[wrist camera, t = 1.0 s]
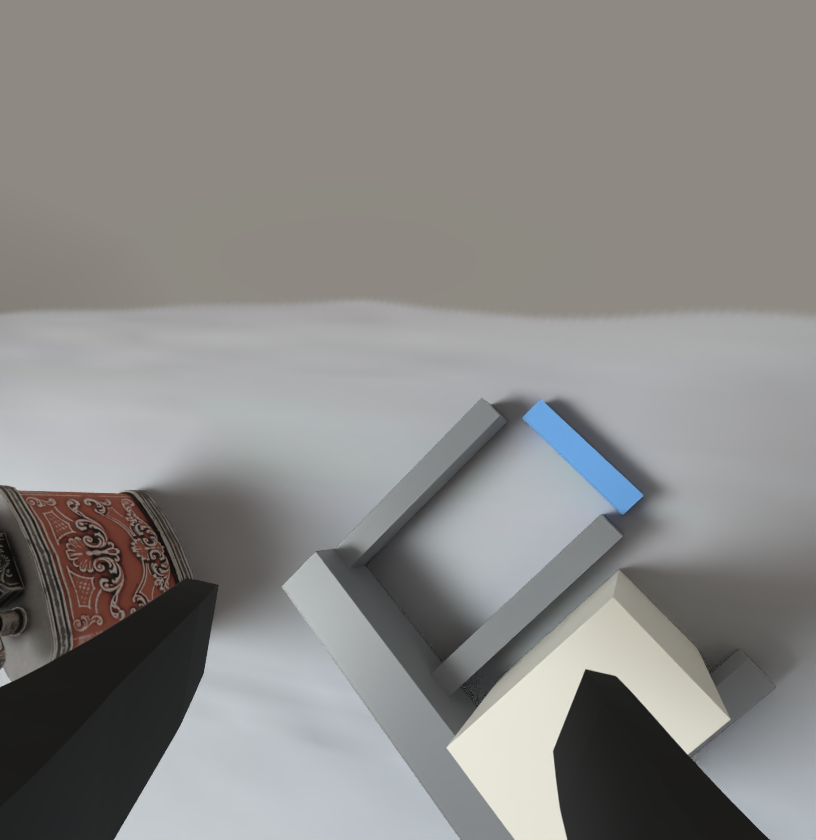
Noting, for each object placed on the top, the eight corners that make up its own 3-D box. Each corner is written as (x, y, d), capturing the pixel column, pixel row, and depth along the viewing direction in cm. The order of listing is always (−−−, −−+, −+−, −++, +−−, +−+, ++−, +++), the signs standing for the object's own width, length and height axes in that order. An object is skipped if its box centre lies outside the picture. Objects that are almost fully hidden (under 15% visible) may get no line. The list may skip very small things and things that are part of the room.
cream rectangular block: (697, 648, 19) (730, 719, 13) (569, 758, 20) (540, 875, 14) (618, 569, 21) (612, 597, 14) (501, 676, 22) (446, 747, 15)
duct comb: (765, 674, 19) (788, 703, 16) (534, 865, 20) (518, 922, 17) (490, 404, 23) (471, 390, 20) (320, 578, 25) (281, 586, 22)
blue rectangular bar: (643, 496, 21) (643, 495, 20) (623, 514, 21) (622, 515, 20) (543, 402, 22) (540, 398, 22) (525, 421, 23) (522, 417, 22)
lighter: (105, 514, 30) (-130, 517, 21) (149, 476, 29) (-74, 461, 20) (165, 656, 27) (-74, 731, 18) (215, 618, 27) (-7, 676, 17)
